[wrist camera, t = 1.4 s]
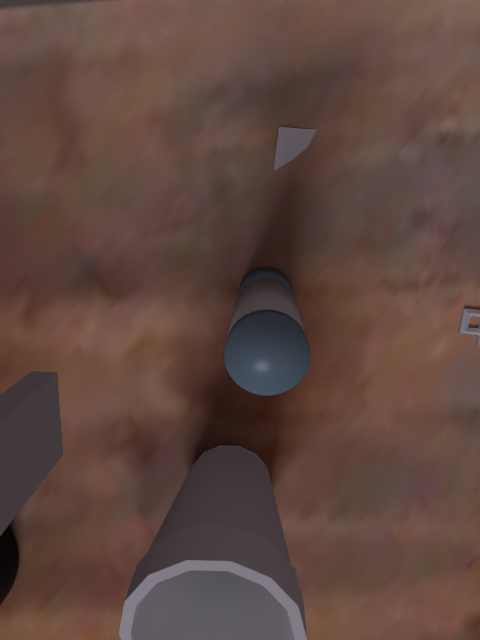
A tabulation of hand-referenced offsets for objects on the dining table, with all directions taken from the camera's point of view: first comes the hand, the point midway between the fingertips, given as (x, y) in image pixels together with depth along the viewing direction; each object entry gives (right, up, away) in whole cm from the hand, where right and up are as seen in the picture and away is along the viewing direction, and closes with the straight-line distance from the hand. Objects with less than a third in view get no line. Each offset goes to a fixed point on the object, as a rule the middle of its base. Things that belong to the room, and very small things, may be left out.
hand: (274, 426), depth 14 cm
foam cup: (-2, -9, +22) cm, 24 cm away
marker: (+1, +5, +18) cm, 19 cm away
